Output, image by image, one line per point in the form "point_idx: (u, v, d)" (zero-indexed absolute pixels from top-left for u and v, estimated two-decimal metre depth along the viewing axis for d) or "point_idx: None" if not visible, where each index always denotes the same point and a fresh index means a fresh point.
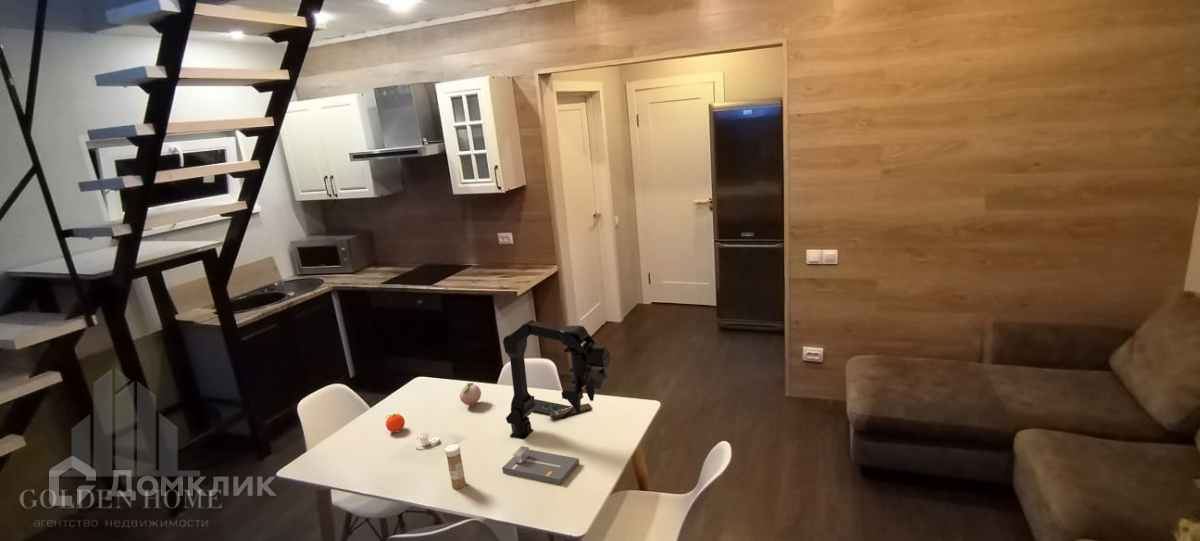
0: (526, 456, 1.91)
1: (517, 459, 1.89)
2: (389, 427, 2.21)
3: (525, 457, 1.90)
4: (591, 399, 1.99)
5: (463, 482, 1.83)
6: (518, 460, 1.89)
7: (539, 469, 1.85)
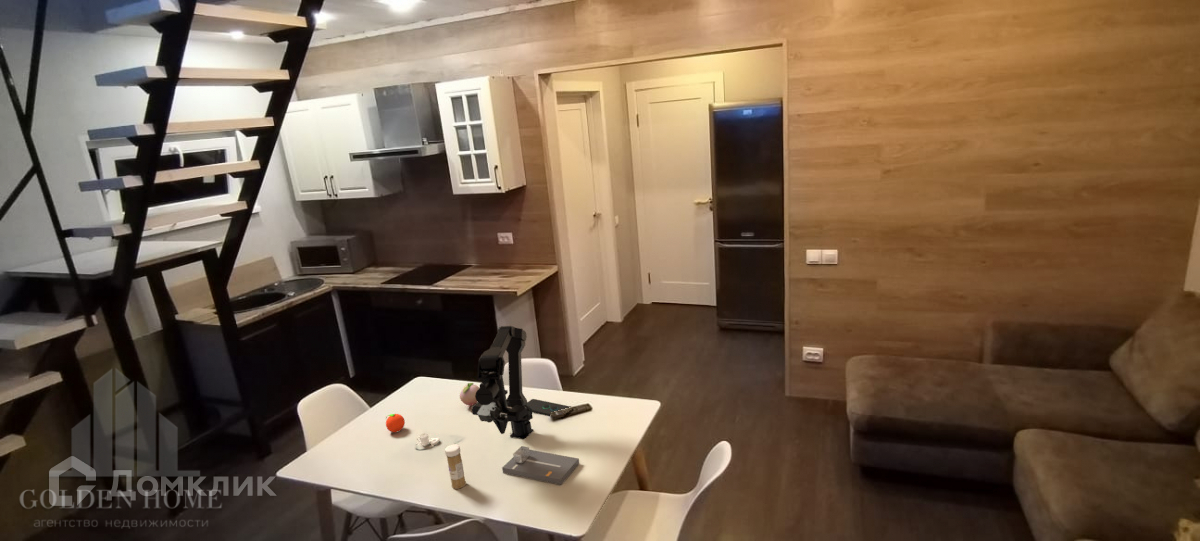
0: (526, 456, 1.91)
1: (517, 459, 1.89)
2: (389, 427, 2.21)
3: (525, 457, 1.90)
4: None
5: (463, 482, 1.83)
6: (518, 460, 1.89)
7: (539, 469, 1.85)
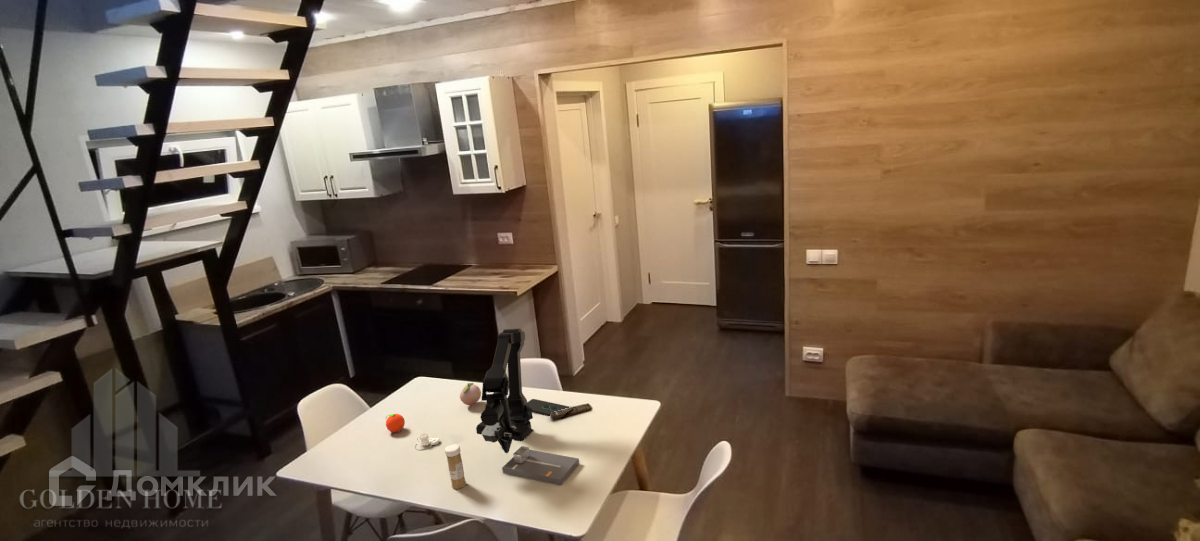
0: (526, 456, 1.91)
1: (517, 459, 1.89)
2: (389, 427, 2.21)
3: (525, 457, 1.90)
4: None
5: (463, 482, 1.83)
6: (518, 460, 1.89)
7: (539, 469, 1.85)
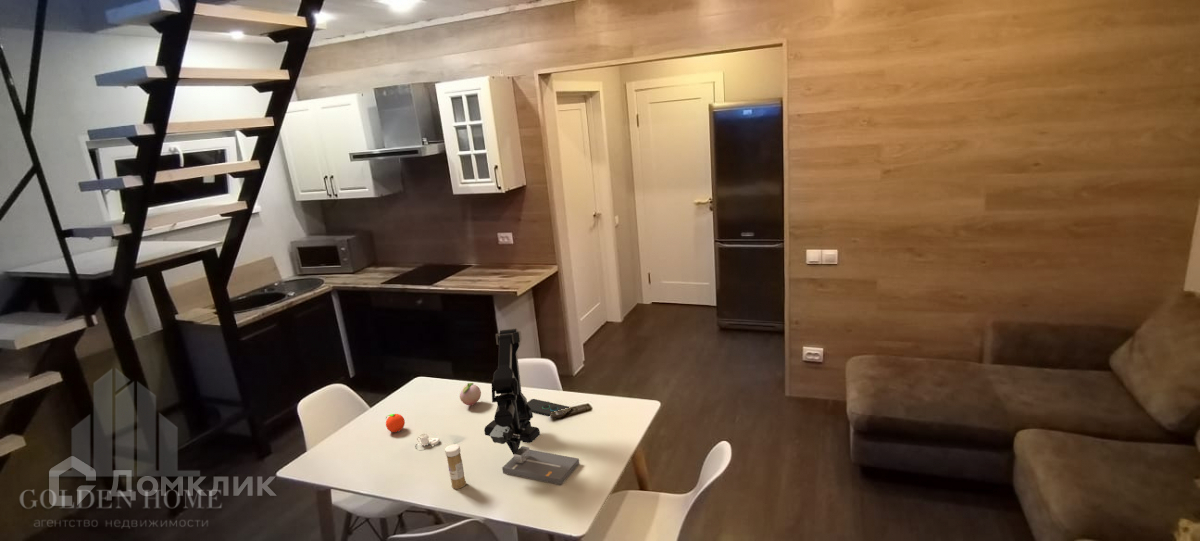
0: (526, 456, 1.91)
1: (517, 459, 1.89)
2: (389, 427, 2.21)
3: (525, 457, 1.90)
4: None
5: (463, 482, 1.83)
6: (518, 460, 1.89)
7: (539, 469, 1.85)
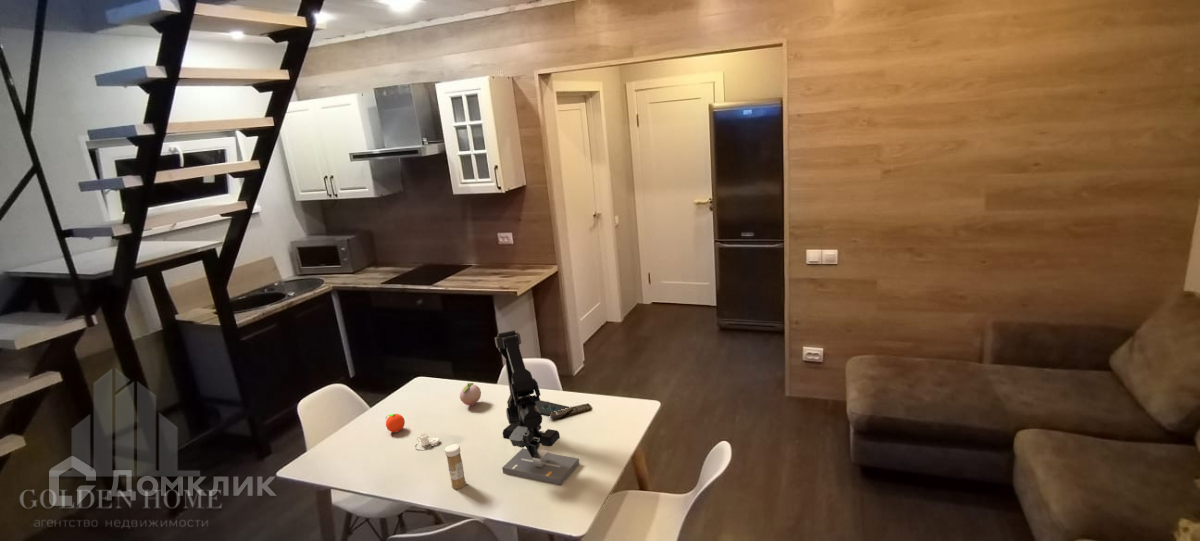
0: (545, 460, 1.87)
1: (536, 463, 1.85)
2: (389, 427, 2.21)
3: (545, 461, 1.87)
4: None
5: (463, 482, 1.83)
6: (538, 464, 1.85)
7: (539, 469, 1.85)
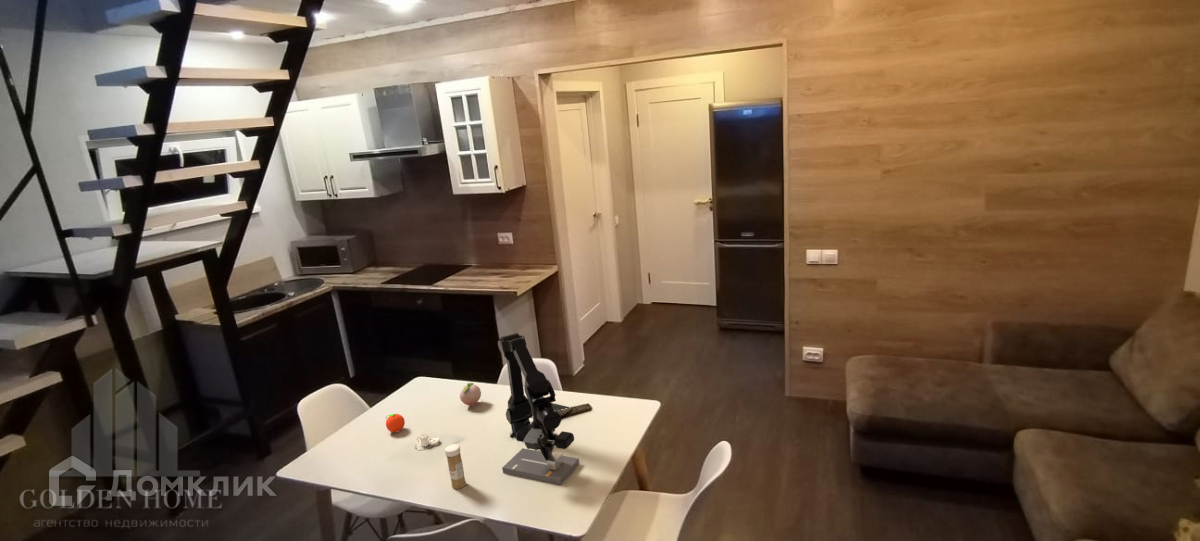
0: (560, 462, 1.85)
1: (550, 465, 1.83)
2: (389, 427, 2.21)
3: (559, 463, 1.84)
4: None
5: (463, 482, 1.83)
6: (552, 467, 1.83)
7: (539, 469, 1.85)
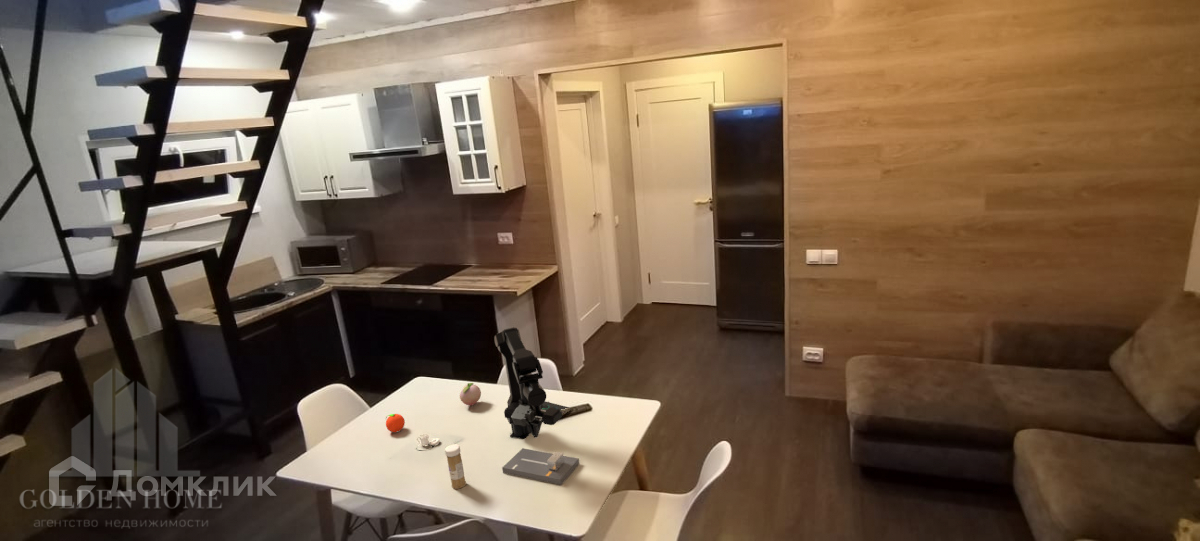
0: (560, 463, 1.85)
1: (551, 465, 1.83)
2: (389, 427, 2.21)
3: (559, 464, 1.84)
4: None
5: (463, 482, 1.83)
6: (552, 467, 1.83)
7: (539, 469, 1.85)
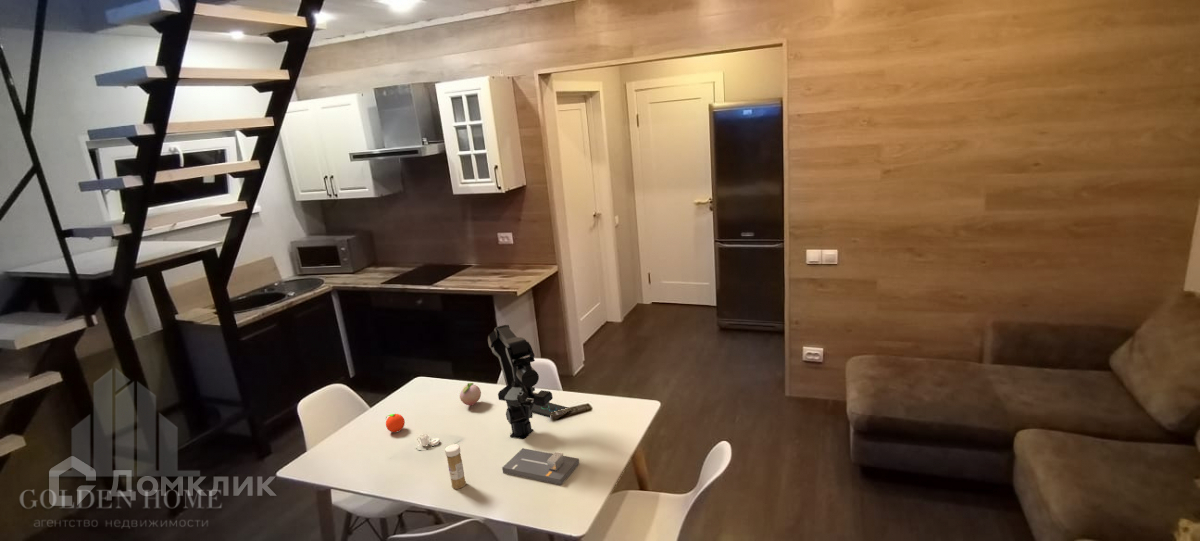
0: (560, 463, 1.85)
1: (551, 465, 1.83)
2: (389, 427, 2.21)
3: (559, 464, 1.84)
4: None
5: (463, 482, 1.83)
6: (552, 467, 1.83)
7: (539, 469, 1.85)
